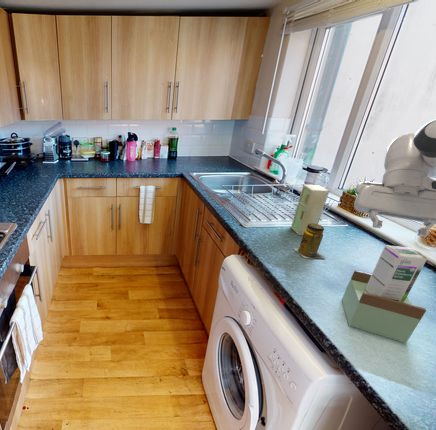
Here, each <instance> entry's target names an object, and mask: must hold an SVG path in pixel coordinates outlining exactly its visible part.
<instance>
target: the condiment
mask: <svg viewBox="0 0 436 430" xmlns="http://www.w3.org/2000/svg"><path fill="white" fill-rule="evenodd" d="M324 232H325V227H324V226H323V225H321V224H319V223H318V224H313V223H311V224H308V226H307V228H306V230H305V231H304V234H303V235H302V237H301V239H300V240H301V241H300V243H299V246H298V247H297V248H294V247H293V250H295V252H296V253H298V255H300V256H301V257H302V258H304V259H326V257H325V256H324V255H323V254H321V253H320V252H319V249H320V246H321V243H322V241H323V238H324V234H323V233H324Z"/></svg>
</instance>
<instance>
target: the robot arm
mask: <svg viewBox="0 0 436 430" xmlns="http://www.w3.org/2000/svg"><path fill="white" fill-rule="evenodd" d="M383 166H384V173H383V176H382V181H381V183H380V182H370V181H363V182H359V183H358V184H357V185H356V190H355V192H356V194H357V195H356V196H355V200H354V203H353V208H354V210H355V211H356V212H360V213H367V214H368V218H369V219H370V221H371V222H372V228H374V229H381V228H382V227H383V220H380V219H379V217H378V216H377V215H379V216H384V217H390V218H397V219H403V220H407V221H408V220H409V221H415V222H420V223H423V226H425V227H421V228H419V229H417V236H419V237H423V238H426V237H428V236H429V235H430V230H431V229H432V228H433V227H434V226H435V225H436V180H435V179H436V118H435V119H433V120H431V121H429V122H427V123H426V124H424V125H423V126H420V128H419V129H418V130H417V131H416V132H410V133H405V134H402V135H400V136H397V137H396V138H394V139H393V140H392V141H391V142H390V144H389V145H388V147H387V149H386V153H385V157H384V165H383ZM433 178H435V179H433Z"/></svg>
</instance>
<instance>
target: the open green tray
mask: <svg viewBox="0 0 436 430" xmlns="http://www.w3.org/2000/svg"><path fill="white" fill-rule="evenodd" d="M351 275H352V276H351V277H350V279H349V282H348V284H347V286H346V289H345V290H344V293H343V296H342V298H341V302H342V306H343V310H344V314H345V318H346V321H347V325H348V326H349V327H352V328H354V329H355V328H356V329H358V330H362V331H364V332H365V331H366V332H369V333H372V334H374V335H378V336H381V337H384V338H388V339H391V340H394V341H396V342H401V343H404V344H407V342H408V341H409V340H410V338H411V336H412V335H413V333H414V332H415V330H416V328H417V327H418V325H419V324H420V322H421V320H422V318H423V317H424V315H426V312H427V309H426V308H425V307H421V306H418V305H414V304H412V303H411V301H410V299H409V297H408V296H407V297H406V299H405V301H404V303H403V302H399V301H395V300H392V299H388V298H384V297H380V296H377V295H373V294H369V293H368V291H367V290H366V286H367V284H368V282H369V280H370V277H371V275H372V273H369V272H366V271H361V270H357V269H354V270H353V273H352V274H351Z"/></svg>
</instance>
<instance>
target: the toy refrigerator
mask: <svg viewBox="0 0 436 430" xmlns="http://www.w3.org/2000/svg"><path fill="white" fill-rule="evenodd" d="M329 193H330V190H329V189H327V188H325V187H323V186H321V185H319V184H303V185H302V188H301V192H300V195H299V197H298V198H299V199H298V202H297V205H296V209H295V212H294V216H293V218H292V222H291V226H290V228H291V229H292V230H293V231H294V233H296V234H297V235H298V236H303V234H304V231H305V230H306V228H307V226H308V224H311V223H313V224H318V225H319V222H320V219H321V217H322V213H323V210H324V207H325V205H326V202H327V200H328V196H329Z"/></svg>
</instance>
